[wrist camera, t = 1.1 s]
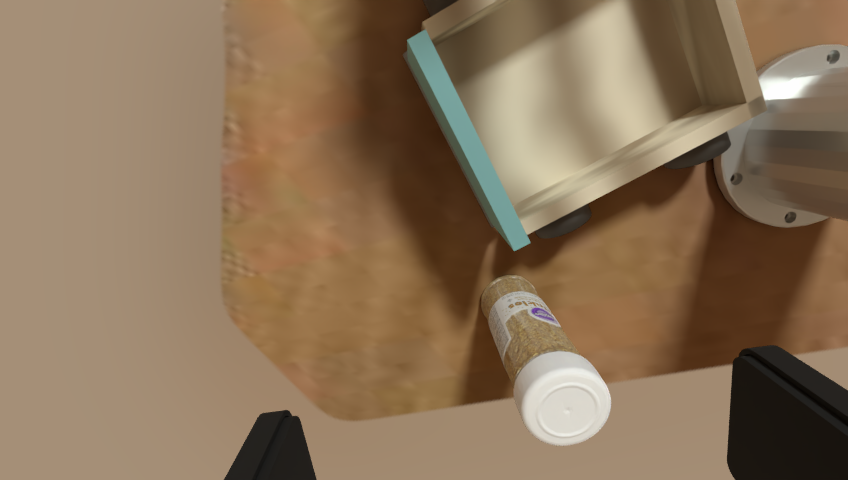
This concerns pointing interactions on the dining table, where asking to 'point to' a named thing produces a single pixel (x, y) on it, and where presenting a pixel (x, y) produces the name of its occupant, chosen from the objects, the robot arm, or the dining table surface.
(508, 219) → the tailgate
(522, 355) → the sprinkles bottle
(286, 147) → the dining table surface
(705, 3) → the cargo bed
